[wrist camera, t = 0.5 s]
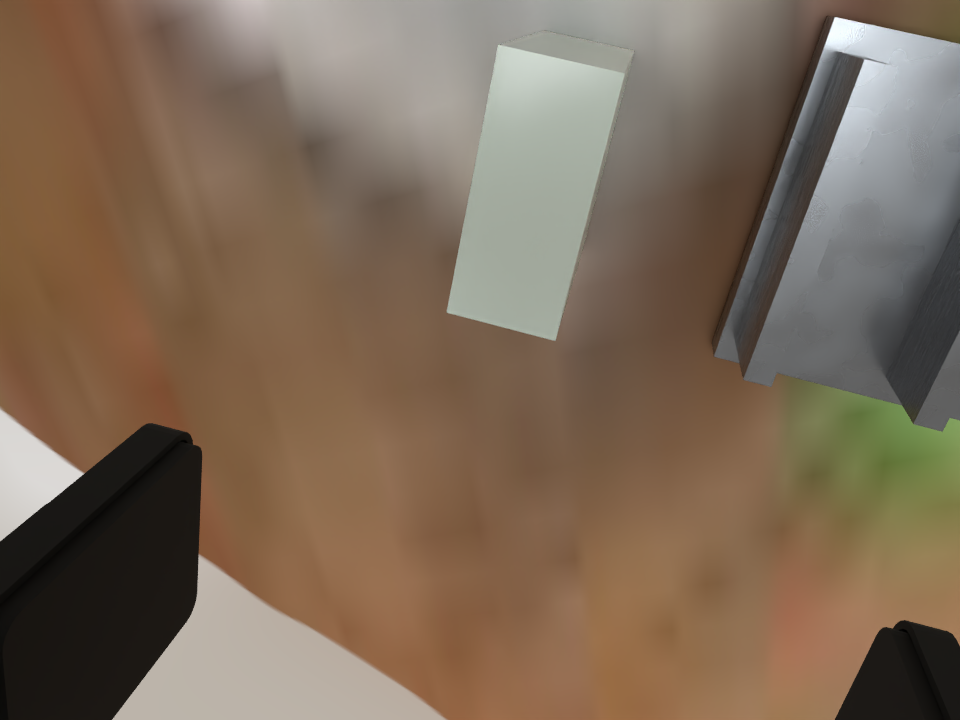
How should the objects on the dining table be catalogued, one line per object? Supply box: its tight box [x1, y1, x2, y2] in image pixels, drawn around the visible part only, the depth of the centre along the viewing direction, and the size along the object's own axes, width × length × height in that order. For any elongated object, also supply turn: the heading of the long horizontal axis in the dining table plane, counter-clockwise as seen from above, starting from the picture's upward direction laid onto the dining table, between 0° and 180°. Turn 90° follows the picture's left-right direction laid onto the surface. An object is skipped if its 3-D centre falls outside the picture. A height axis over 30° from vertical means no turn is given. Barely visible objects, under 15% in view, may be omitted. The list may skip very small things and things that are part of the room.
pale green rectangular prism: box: [447, 30, 635, 341], centre depth 28 cm, size 8×4×10 cm, turn 169°
